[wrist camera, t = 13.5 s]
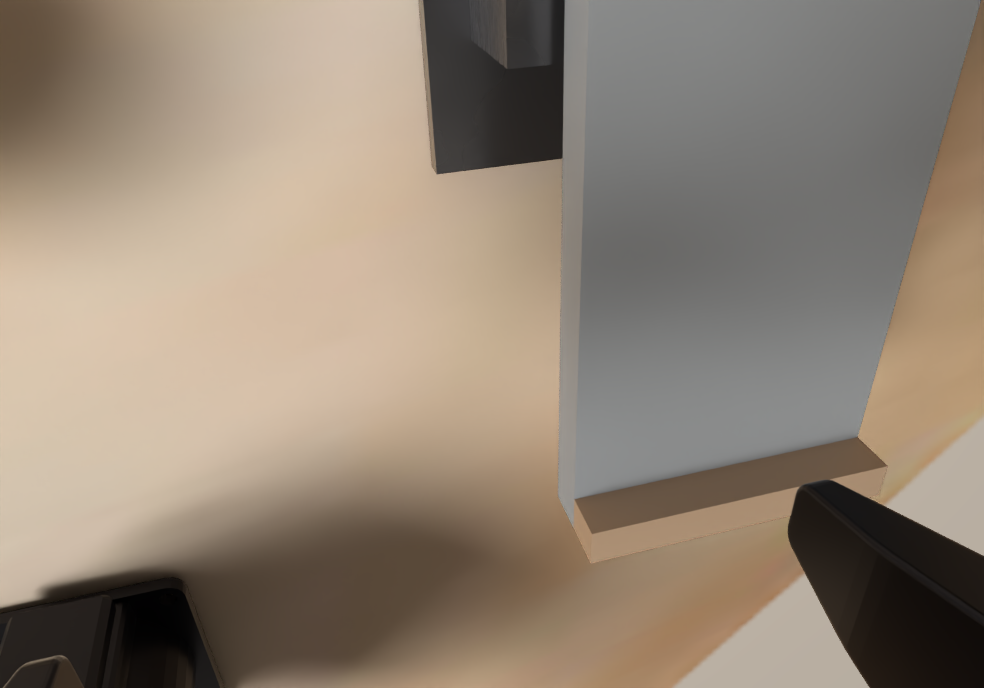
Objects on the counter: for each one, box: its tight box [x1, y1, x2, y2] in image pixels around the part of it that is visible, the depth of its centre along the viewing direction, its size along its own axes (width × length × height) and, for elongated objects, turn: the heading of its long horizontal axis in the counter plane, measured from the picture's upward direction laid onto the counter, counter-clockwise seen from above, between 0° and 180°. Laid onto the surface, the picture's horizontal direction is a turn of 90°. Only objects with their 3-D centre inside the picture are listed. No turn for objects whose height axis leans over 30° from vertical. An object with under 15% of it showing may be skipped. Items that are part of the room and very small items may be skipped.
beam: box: [558, 0, 981, 564], centre depth 14 cm, size 22×8×2 cm, turn 2°
